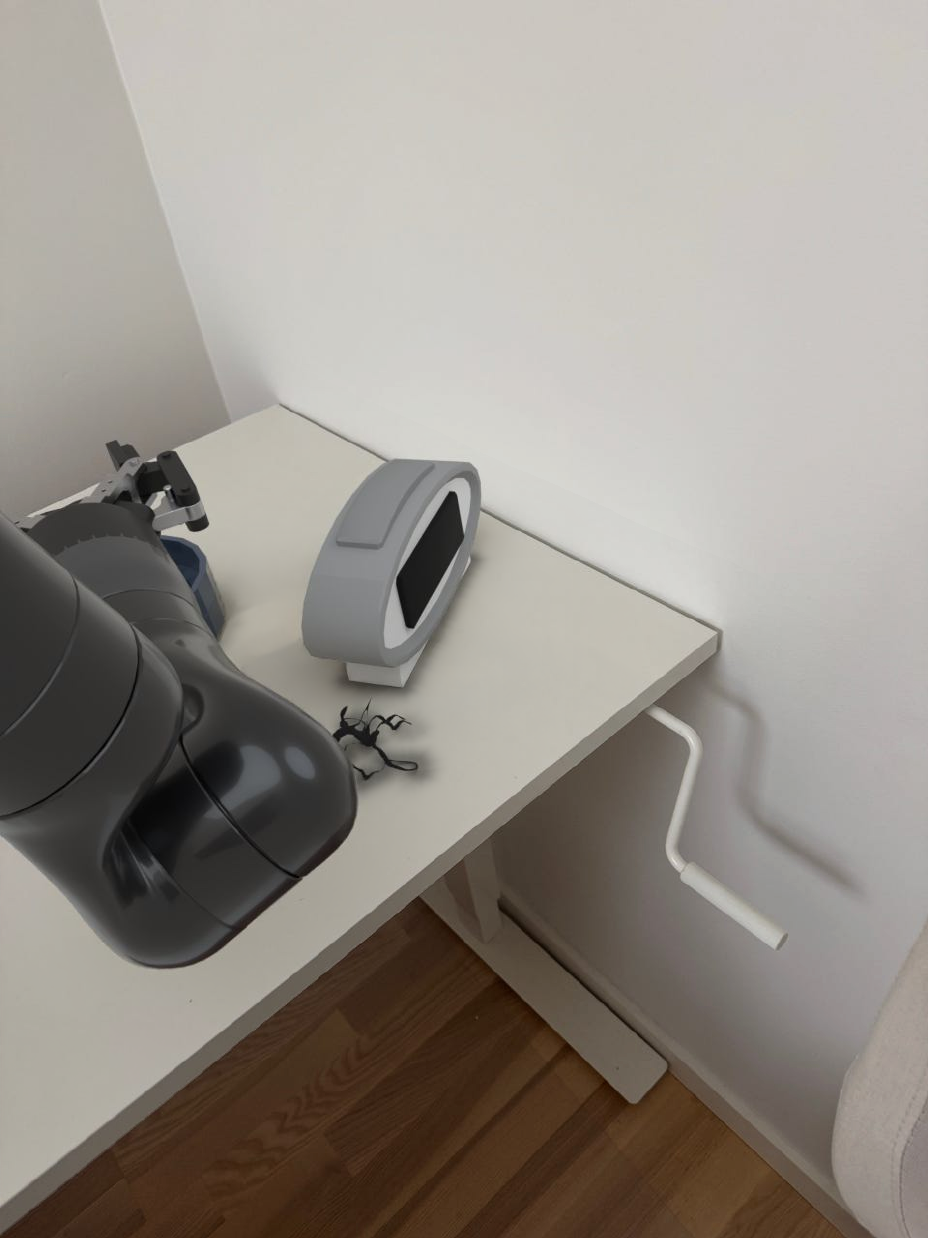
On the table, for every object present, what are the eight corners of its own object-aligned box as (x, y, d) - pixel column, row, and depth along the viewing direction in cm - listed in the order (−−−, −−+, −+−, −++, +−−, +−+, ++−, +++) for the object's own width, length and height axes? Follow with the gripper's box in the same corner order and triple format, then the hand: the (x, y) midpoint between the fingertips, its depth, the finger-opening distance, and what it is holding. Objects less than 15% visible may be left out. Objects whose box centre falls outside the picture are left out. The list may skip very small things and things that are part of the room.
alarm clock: (397, 719, 71) (362, 582, 63) (324, 708, 73) (280, 575, 65) (491, 540, 88) (472, 415, 80) (428, 536, 90) (404, 413, 82)
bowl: (84, 720, 76) (53, 664, 72) (50, 631, 86) (22, 578, 83) (249, 645, 81) (228, 589, 77) (199, 569, 91) (178, 516, 87)
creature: (376, 715, 73) (287, 757, 69) (375, 657, 71) (282, 696, 66) (442, 766, 68) (351, 815, 64) (443, 705, 66) (348, 751, 61)
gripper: (225, 489, 47) (139, 384, 58) (-79, 606, 42) (-107, 466, 54) (264, 609, 51) (177, 489, 63) (-5, 726, 47) (-45, 574, 58)
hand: (47, 479), depth 58 cm, fingers open, 8 cm apart
